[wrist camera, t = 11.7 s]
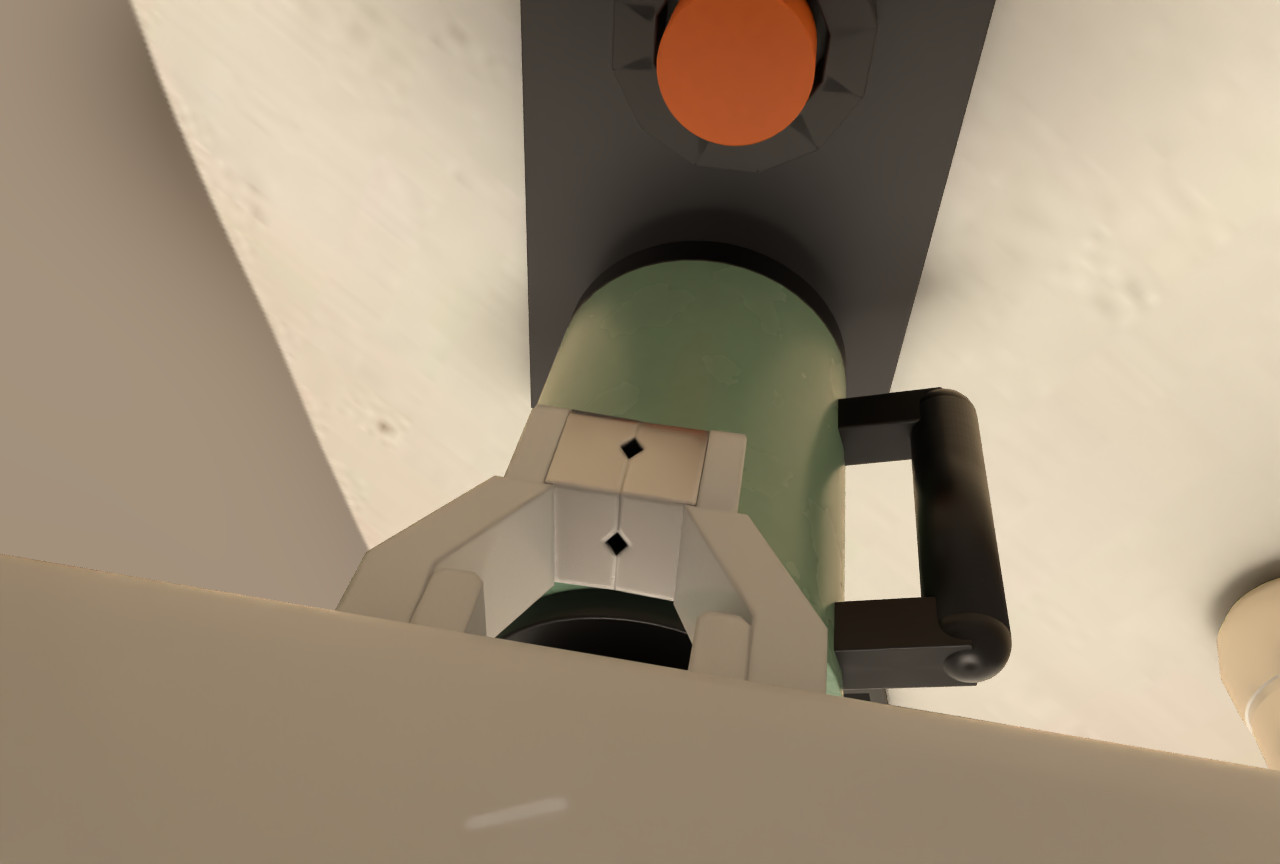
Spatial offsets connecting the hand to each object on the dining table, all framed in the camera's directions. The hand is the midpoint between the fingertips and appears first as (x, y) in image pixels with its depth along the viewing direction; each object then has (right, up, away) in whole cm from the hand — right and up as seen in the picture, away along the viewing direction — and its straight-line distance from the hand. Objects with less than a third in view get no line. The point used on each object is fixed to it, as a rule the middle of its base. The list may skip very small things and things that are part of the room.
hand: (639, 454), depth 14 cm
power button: (+3, +11, +13) cm, 17 cm away
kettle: (+2, +3, +19) cm, 19 cm away
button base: (+3, +8, +18) cm, 20 cm away
